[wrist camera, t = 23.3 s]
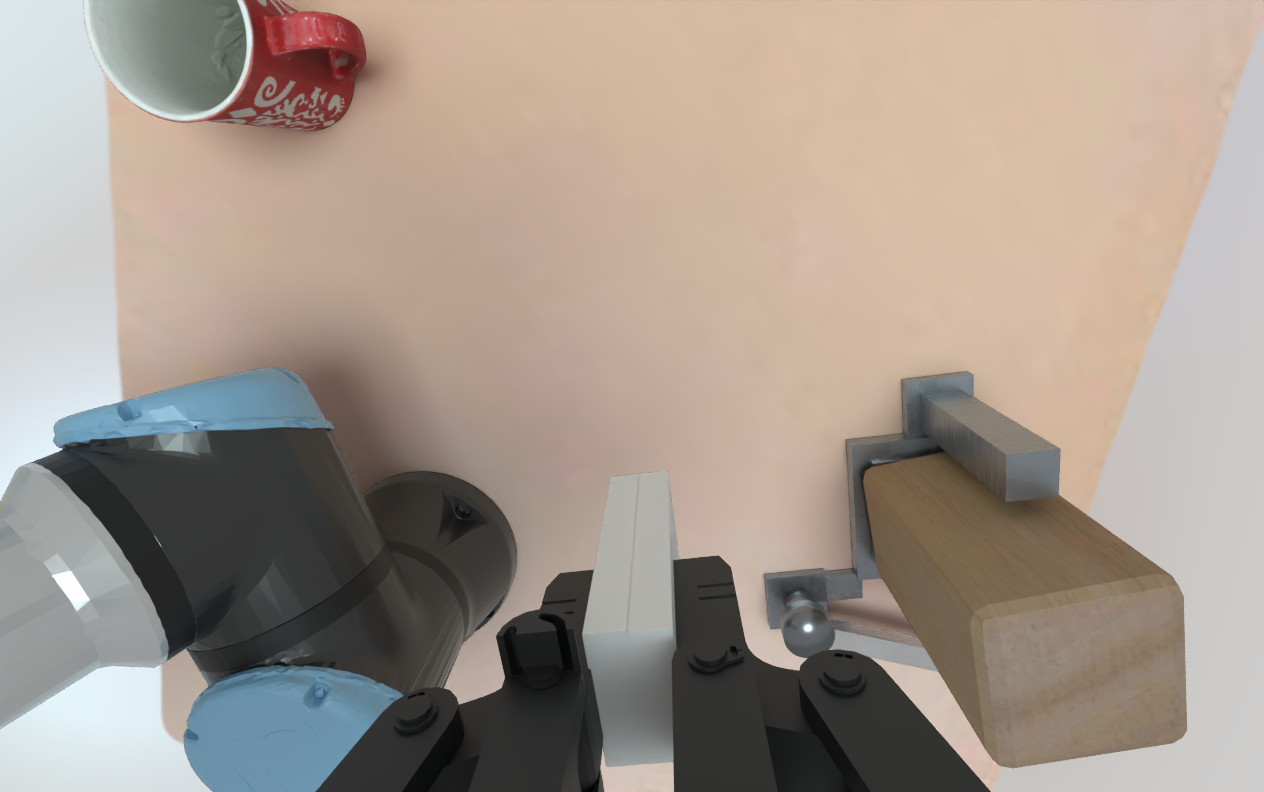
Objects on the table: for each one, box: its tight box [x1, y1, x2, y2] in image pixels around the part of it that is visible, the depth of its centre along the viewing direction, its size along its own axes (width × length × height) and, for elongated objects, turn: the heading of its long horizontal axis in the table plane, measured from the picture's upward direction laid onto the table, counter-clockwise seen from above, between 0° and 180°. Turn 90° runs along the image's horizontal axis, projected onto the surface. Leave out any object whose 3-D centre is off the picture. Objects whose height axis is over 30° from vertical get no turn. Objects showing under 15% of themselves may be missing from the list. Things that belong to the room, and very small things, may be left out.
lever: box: [779, 600, 939, 672], centre depth 52 cm, size 4×17×3 cm, turn 78°
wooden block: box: [863, 452, 1187, 768], centre depth 42 cm, size 10×10×20 cm
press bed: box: [764, 372, 1061, 629], centre depth 47 cm, size 20×21×14 cm
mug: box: [83, 0, 366, 131], centre depth 40 cm, size 13×9×14 cm
